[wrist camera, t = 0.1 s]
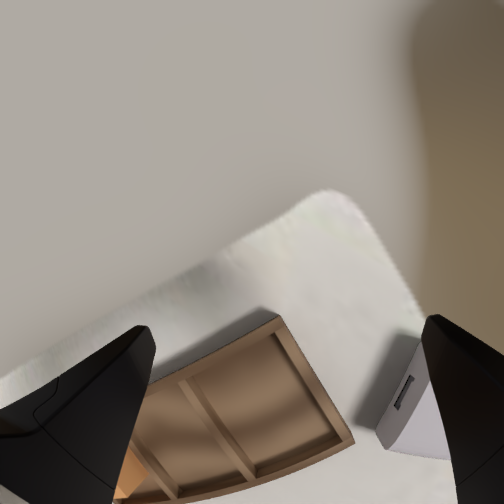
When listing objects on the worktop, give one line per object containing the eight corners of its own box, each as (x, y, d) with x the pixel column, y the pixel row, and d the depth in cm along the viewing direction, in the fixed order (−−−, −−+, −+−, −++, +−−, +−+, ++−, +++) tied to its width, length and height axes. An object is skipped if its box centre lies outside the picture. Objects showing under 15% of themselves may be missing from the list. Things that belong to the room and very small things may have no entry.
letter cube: (149, 473, 22) (127, 498, 17) (119, 479, 22) (96, 500, 17) (122, 437, 23) (95, 457, 18) (94, 445, 23) (68, 462, 18)
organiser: (351, 431, 21) (355, 443, 19) (128, 501, 22) (120, 510, 20) (279, 314, 23) (278, 317, 21) (69, 418, 24) (58, 423, 22)
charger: (475, 448, 18) (372, 429, 21) (513, 374, 19) (419, 338, 21) (494, 465, 13) (386, 454, 16) (538, 382, 14) (444, 347, 17)
